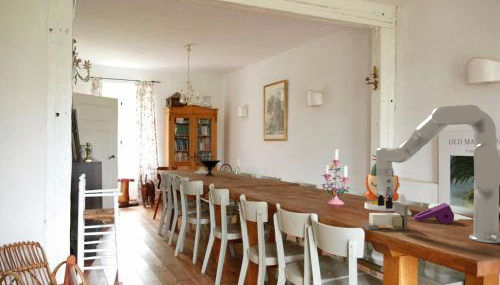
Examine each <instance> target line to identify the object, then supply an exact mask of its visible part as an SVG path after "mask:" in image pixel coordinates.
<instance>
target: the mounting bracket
mask: <svg viewBox="0 0 500 285" xmlns="http://www.w3.org/2000/svg"><path fill="white" fill-rule="evenodd" d="M453 213H454V212H453V209H452V207H451V206H450V205H449V204H447V203H446V202H443V203H439V204H438V205H436V206H433V207H430V208H427V209H424V210H423V211H420V212H418V213H417V214H415V215H414V216H413V218H414V221H416V220H417V222H421V221H424V220H427V219H430V218H432V217H434V218H435V219H436V220H438V221H439V222H440V223H441V224H447V225H449V224H451V223H452V222H453V221H455V220H454V214H453Z"/></svg>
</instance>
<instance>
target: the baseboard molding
mask: <svg viewBox="0 0 500 285" xmlns="http://www.w3.org/2000/svg"><path fill="white" fill-rule="evenodd" d="M425 210H428V208H427V207H426V208H425ZM453 214H454V220H453V221H458V222H459V221H460V222H461V221H462V222H463V221H467V222H469V221H472V222H473V218H471V217H468V216H465V215H461V214H459V213H454V212H453Z"/></svg>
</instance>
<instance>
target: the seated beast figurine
mask: <svg viewBox="0 0 500 285" xmlns="http://www.w3.org/2000/svg"><path fill="white" fill-rule="evenodd" d="M398 201H399V202H398V203H401V204H404V205H407V203H406V202H407V197H406V196H405V194H404V193H402V194H399V199H398ZM412 213H413V212H412V211H411V210H410V209H408V212H407V216H412V215H413V214H412Z"/></svg>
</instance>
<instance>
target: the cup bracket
mask: <svg viewBox="0 0 500 285" xmlns="http://www.w3.org/2000/svg"><path fill="white" fill-rule="evenodd" d="M394 203H395V211H393V213H397V214H400V215H401V217H392V225H384V227H386V228H388V229H390V230H391V231H404V230H407V231H408V215H407V212H408V210H409V208H408V205H407V204H406V205H404V204H401V203H399V202H397V201H394Z"/></svg>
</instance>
